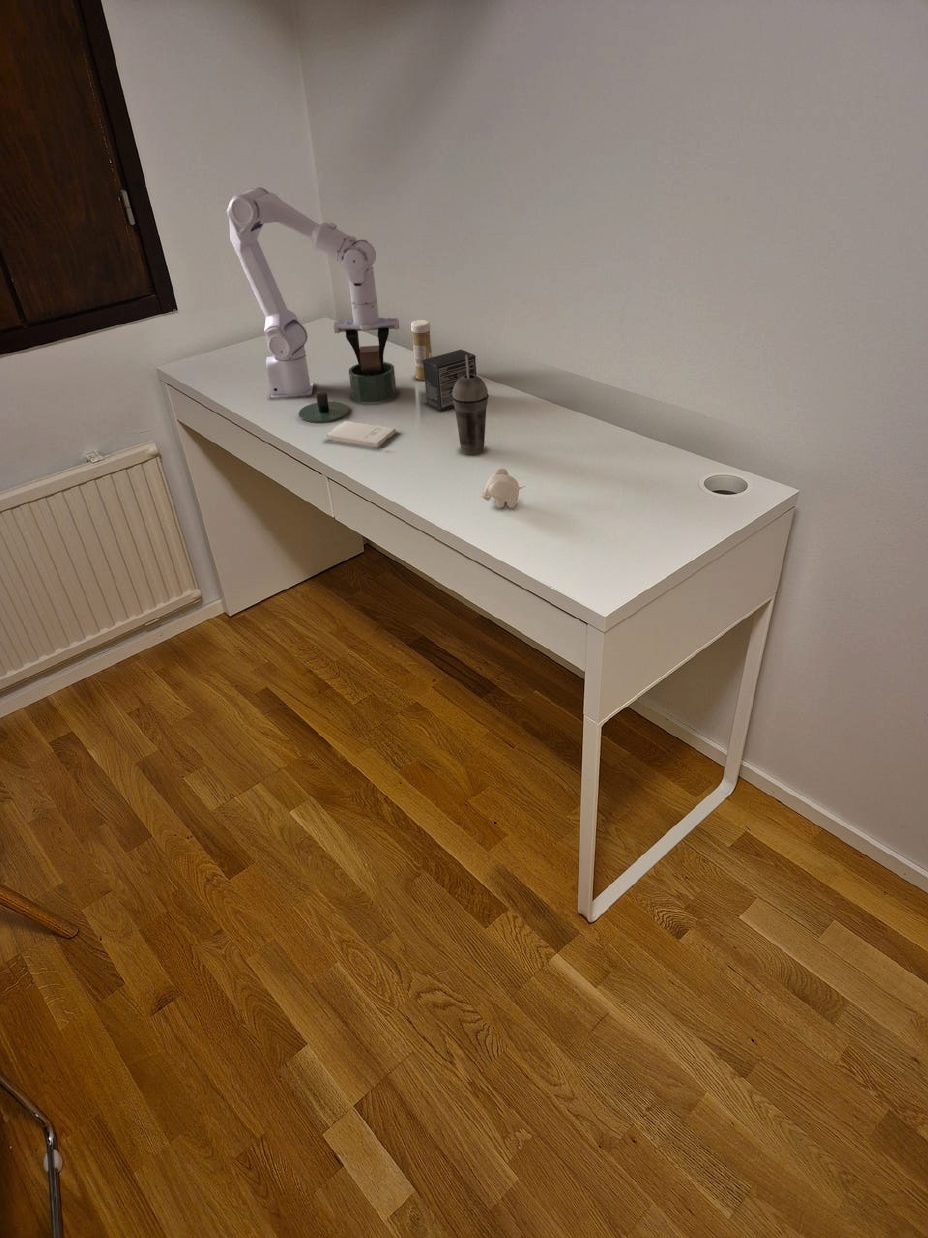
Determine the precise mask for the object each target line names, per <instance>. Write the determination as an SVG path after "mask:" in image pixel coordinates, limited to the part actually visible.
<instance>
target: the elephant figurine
mask: <svg viewBox="0 0 928 1238" xmlns="http://www.w3.org/2000/svg"><path fill="white" fill-rule="evenodd" d="M525 487H526V485H523V486H520V485H519V482H518V480H517V479H516V478H515V477H513V476H511V475H509V472H508V470H507V469H506V468H498V469H497V470H496V471H494V473H493V474H492V475H491V476H489V478H488V479H487V482H486V484H485V486H484V488H483V489H482V492H481V498H483V500H485V501H486V502H489V501H491V500H492V498H493V499H494V501H495V504H496V505H495V506H496V507H497V508H498V509H501V508H504V506H505V503H506V506H507V507H508V508H510V509H513V508H515V507H516V505H517V502H518V500H519V495H520V490H521V489H523V488H525Z"/></svg>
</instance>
